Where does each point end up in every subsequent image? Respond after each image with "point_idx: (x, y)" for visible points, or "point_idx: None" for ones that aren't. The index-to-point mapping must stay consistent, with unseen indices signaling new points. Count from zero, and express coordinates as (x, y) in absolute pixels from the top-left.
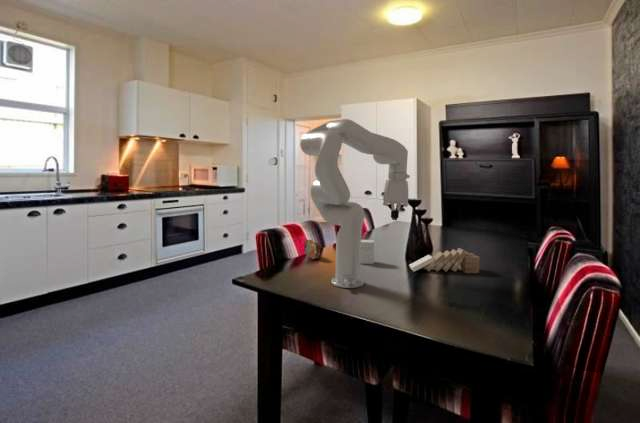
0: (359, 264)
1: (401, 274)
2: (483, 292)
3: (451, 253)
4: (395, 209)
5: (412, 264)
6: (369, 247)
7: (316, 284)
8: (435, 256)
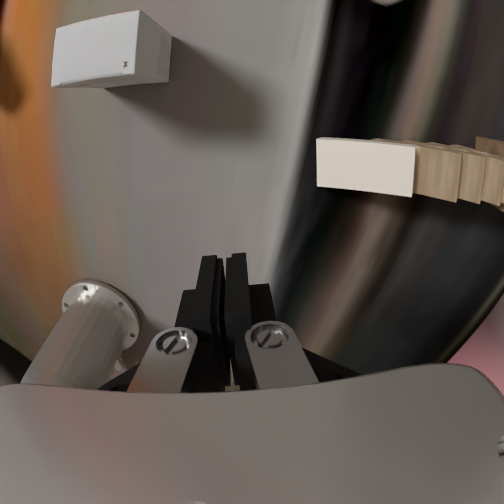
0: (113, 367)
1: (264, 220)
2: (415, 339)
3: (479, 203)
4: (236, 357)
5: (328, 155)
6: (121, 78)
7: (45, 321)
8: (431, 165)
